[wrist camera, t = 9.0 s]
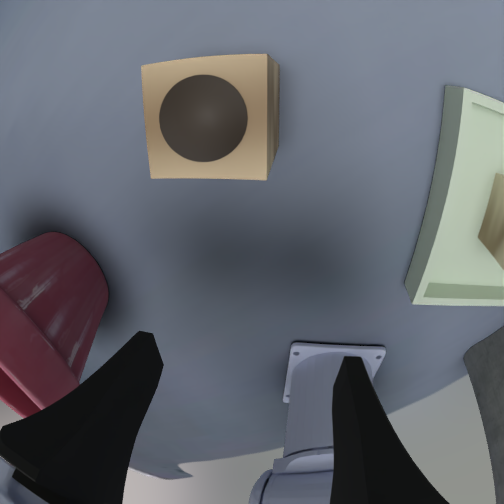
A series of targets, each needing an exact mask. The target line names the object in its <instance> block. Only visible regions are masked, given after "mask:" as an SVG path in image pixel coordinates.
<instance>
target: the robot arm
mask: <svg viewBox="0 0 504 504" xmlns="http://www.w3.org/2000/svg"><path fill="white" fill-rule="evenodd" d="M385 354H386V349H385V347H377V346H347V345H327V344H312V343H293V344H292V345H291V350H290V357H289V364H288V370H287V377H286V383H285V389H284V395H283V401H284V402H285V403H289V408H288V418H287V427H286V436H285V445H284V454H283V458H280V459H274V464H273V469H271V470H267V471H266V472H264V473H263V474H262V475H261V476H260V478H259V479H258V480H257V482H256V483H255V485H254V486H253V489H252V491H251V494H250V498H249V504H449V503H448V502H447V501H446V500H445V499H444V498H443V497H442V496H441V495H440V494H439V493H438V491H437V490H436V489H435V488H434V487H433V486H432V484H431V483H430V482H429V481H428V480H427V478H426V477H425V476H424V475H423V473H422V472H421V471H420V469H419V468H418V467H417V466H416V464H415V463H414V461H413V460H412V458H411V457H410V455H409V454H408V452H407V451H406V449H405V448H404V446H403V445H402V443H401V441H400V440H399V438H398V436H397V434H396V433H395V431H394V429H393V427H392V425H391V423H390V421H389V420H388V418H387V416H386V414H385V412H384V409H383V407H382V405H381V403H380V401H379V399H378V397H377V394H376V392H375V390H374V385H373V378H374V376H375V374H376V372H377V370H378V368H379V366H380V364H381V362H382V360H383V358H384V356H385ZM163 366H164V364H163V361H162V359H161V356H160V353H159V350H158V347H157V344H156V341H155V338H154V335H153V333H148V332H143V331H139V332H137V333H136V334H135V335H134V336H133V337H132V338H131V339H130V340H129V341H128V342H127V343H126V344H125V345H124V346H123V347H122V348H121V349H120V350H119V351H118V352H117V353H116V354H114V355H113V356H112V357H111V358H110V359H109V360H108V361H107V362H106V363H105V364H104V365H103V366H102V367H101V368H99V369H98V370H97V371H96V372H95V373H94V374H92V375H91V376H90V377H89V378H88V379H87V380H85V381H84V382H83V383H82V384H80V385H79V386H78V387H77V388H75V389H74V390H73V391H71V392H70V393H68V394H67V395H66V396H64V397H63V398H61V399H59V400H58V401H56V402H55V403H53V404H51V405H50V406H48V407H46V408H44V409H43V410H41V411H39V412H37V413H35V414H33V415H31V416H28V417H26V418H24V419H21V420H19V421H16V422H13V423H11V424H8V425H5V426H3V427H2V429H1V430H0V456H1V457H0V504H122V500H123V493H124V486H125V481H126V475H127V470H128V466H129V462H130V458H131V454H132V450H133V446H134V443H135V439H136V436H137V434H138V431H139V428H140V426H141V424H142V421H143V419H144V417H145V414H146V412H147V410H148V407H149V405H150V403H151V401H152V398H153V396H154V394H155V391H156V389H157V386H158V383H159V380H160V376H161V373H162V369H163ZM3 458H4V459H5V460H4V459H3ZM8 462H9V463H8Z"/></svg>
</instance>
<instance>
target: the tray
mask: <svg viewBox="0 0 504 504" xmlns="http://www.w3.org/2000/svg"><path fill="white" fill-rule="evenodd" d="M496 173H499V174H502V175H504V103H503V102H500V101H498V100H495V99H493V98H491V97H488V96H486V95H483V94H480V93H478V92H475V91H472V90H469V89H466V88H463V87H456V86H448V85H445V95H444V107H443V116H442V125H441V132H440V140H439V146H438V153H437V158H436V164H435V170H434V175H433V180H432V185H431V189H430V194H429V198H428V203H427V207H426V211H425V215H424V219H423V223H422V227H421V230H420V234H419V238H418V241H417V245H416V248H415V251H414V255H413V258H412V261H411V264H410V267H409V270H408V273H407V276H406V279H405V282H404V284H405V286H406V289H407V292H408V294H409V297H410V300H411V303H412V304H420V305H455V306H504V270H503V269H502V267H501V266H500V265H499V263H498V262H497V261H496V260H495V258H494V257H493V256H492V254H491V253H490V252H489V251H488V249H487V248H486V247H485V246H484V244H483V243H482V242H481V241H480V240H479V238H478V234H479V231H480V228H481V225H482V222H483V219H484V215H485V212H486V209H487V205H488V202H489V198H490V194H491V190H492V186H493V182H494V178H495V174H496Z"/></svg>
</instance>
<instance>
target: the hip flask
mask: <svg viewBox="0 0 504 504" xmlns="http://www.w3.org/2000/svg"><path fill="white" fill-rule="evenodd" d="M464 362H465V365H466V368H467V371H468V374H469V377H470V380H471V383H472V386H473V389H474V392H475V396H476V399H477V403H478V406H479V410H480V414H481V418H482V421H483V426H484V430H485V434H486V439H487V444H488V449H489V453H490V459H491V465H492V471H493V478H494V485H495V494H496V504H504V326H503V327H502V328H500V329H499V330H498V331H496V332H495V333H493V334H492V335H490V336H489V337H487V338H485V339H484V340H482V341H481V342H479V343H477V344H475V345H474V346H472V347H471V348H470V349H469V350H468V351H467V352H466V353H465V355H464Z"/></svg>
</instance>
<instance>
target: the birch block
mask: <svg viewBox="0 0 504 504" xmlns="http://www.w3.org/2000/svg"><path fill="white" fill-rule="evenodd" d="M478 238H479V240H480V241H481V242H482V243H483V244H484V246H485V247H486V248H487V249H488V251H489V252H490V253H491V254H492V256H493V257H494V258H495V260H496V261H497V262H498V263H499V265H500V266H501V267H502V269H503V270H504V175H502V174H499V173H496V174H495V178H494V182H493V186H492V190H491V194H490V198H489V202H488V205H487V209H486V212H485V215H484V219H483V222H482V225H481V228H480V231H479V234H478Z"/></svg>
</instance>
